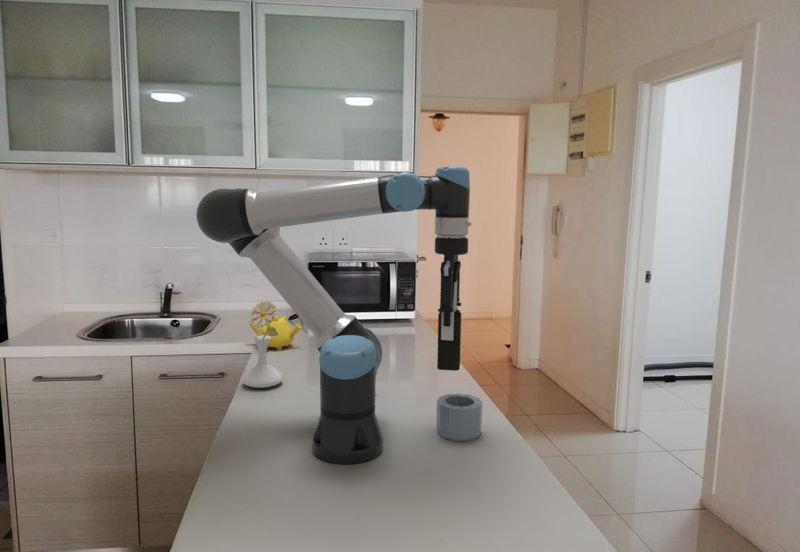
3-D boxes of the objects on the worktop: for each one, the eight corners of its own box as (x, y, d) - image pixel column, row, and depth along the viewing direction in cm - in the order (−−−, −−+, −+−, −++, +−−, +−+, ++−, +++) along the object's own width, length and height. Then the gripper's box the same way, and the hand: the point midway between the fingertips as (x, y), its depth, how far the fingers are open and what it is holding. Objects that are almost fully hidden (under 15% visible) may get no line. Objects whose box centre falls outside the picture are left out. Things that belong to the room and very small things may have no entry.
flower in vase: (234, 384, 161) (232, 298, 157) (269, 375, 169) (268, 293, 165) (258, 396, 152) (256, 305, 148) (294, 386, 160) (293, 299, 156)
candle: (459, 370, 128) (461, 262, 125) (436, 369, 129) (438, 261, 126) (460, 364, 133) (462, 259, 130) (438, 363, 134) (440, 259, 131)
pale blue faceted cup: (476, 444, 124) (477, 411, 123) (432, 437, 127) (433, 406, 126) (483, 426, 133) (484, 396, 132) (442, 421, 136) (443, 391, 135)
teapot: (237, 351, 195) (236, 319, 194) (261, 338, 212) (261, 309, 211) (290, 355, 191) (290, 323, 189) (311, 342, 208) (311, 313, 206)
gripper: (462, 239, 117) (459, 347, 120) (473, 234, 135) (470, 329, 138) (427, 238, 119) (425, 345, 122) (442, 233, 137) (440, 327, 140)
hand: (449, 336), depth 130 cm, fingers closed on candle, 5 cm apart
